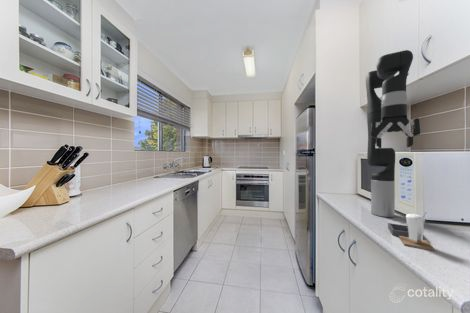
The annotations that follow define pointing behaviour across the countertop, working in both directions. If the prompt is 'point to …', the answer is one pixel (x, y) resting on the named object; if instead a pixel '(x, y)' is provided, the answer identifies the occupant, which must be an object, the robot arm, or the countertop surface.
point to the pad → (423, 246)
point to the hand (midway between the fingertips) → (393, 147)
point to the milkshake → (415, 227)
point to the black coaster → (398, 230)
